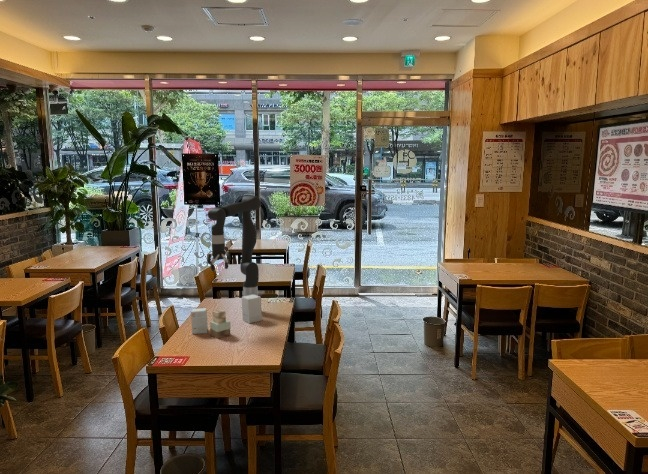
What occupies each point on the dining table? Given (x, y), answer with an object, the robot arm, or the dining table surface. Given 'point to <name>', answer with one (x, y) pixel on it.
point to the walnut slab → (219, 333)
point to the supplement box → (251, 308)
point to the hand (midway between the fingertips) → (219, 269)
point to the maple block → (219, 316)
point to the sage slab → (220, 326)
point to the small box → (199, 321)
